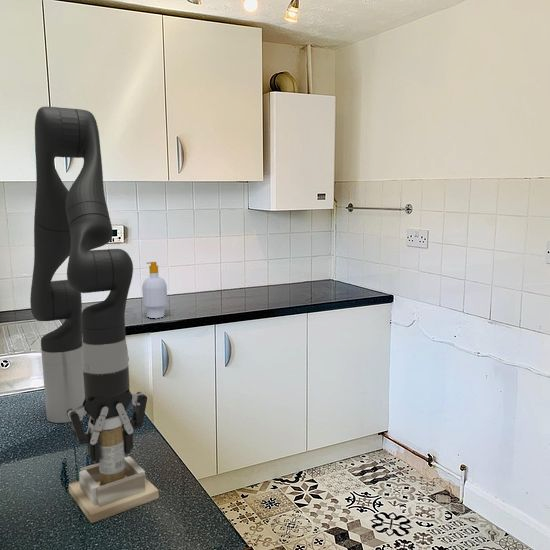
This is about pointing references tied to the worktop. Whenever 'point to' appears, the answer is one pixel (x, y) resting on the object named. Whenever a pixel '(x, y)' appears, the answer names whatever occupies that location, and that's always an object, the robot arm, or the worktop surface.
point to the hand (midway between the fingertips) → (111, 456)
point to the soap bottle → (154, 293)
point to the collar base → (112, 491)
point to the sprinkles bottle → (111, 451)
